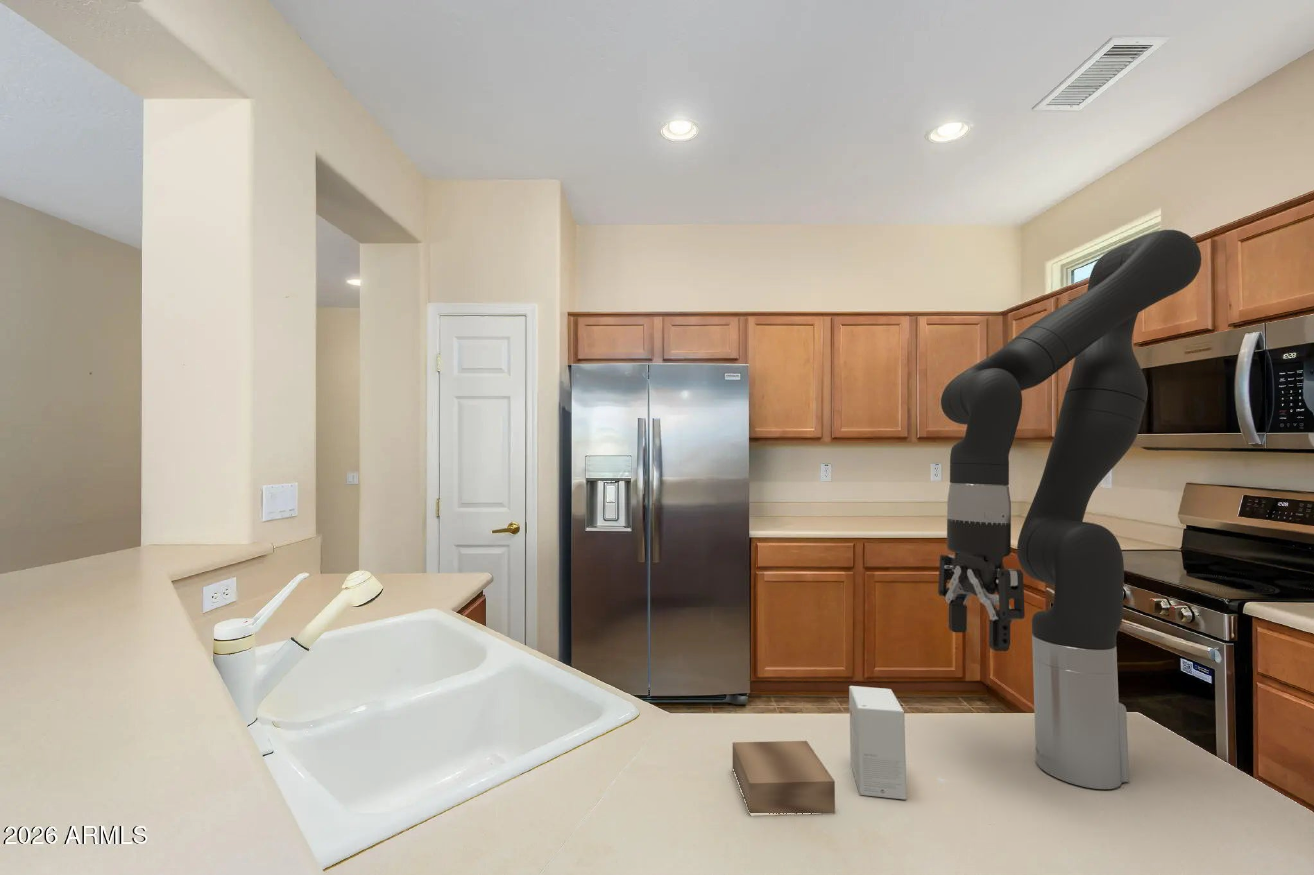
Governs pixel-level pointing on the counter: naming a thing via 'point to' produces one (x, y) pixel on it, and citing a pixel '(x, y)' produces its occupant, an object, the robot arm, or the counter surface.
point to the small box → (877, 742)
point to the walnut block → (783, 778)
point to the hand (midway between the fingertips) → (977, 640)
